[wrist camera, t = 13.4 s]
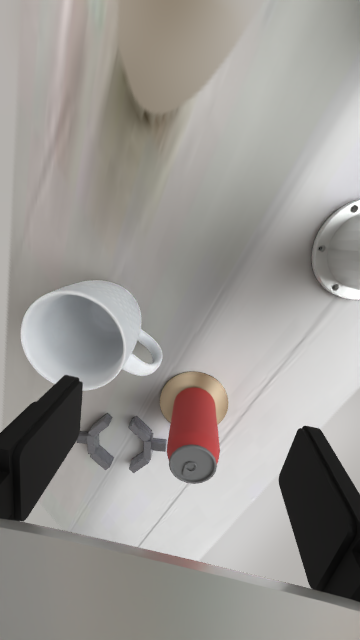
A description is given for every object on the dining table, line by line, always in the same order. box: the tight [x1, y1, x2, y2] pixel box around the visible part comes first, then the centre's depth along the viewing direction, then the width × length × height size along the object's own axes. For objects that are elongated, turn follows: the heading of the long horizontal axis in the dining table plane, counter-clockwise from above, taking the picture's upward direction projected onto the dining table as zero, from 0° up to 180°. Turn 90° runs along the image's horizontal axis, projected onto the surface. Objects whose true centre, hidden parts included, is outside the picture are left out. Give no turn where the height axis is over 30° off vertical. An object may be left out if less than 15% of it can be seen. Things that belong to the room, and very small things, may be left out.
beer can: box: [167, 387, 220, 484], centre depth 35 cm, size 7×7×12 cm
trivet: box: [160, 372, 228, 425], centre depth 41 cm, size 11×11×1 cm
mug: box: [21, 280, 162, 391], centre depth 32 cm, size 15×11×13 cm
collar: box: [77, 413, 166, 473], centre depth 44 cm, size 16×10×2 cm
